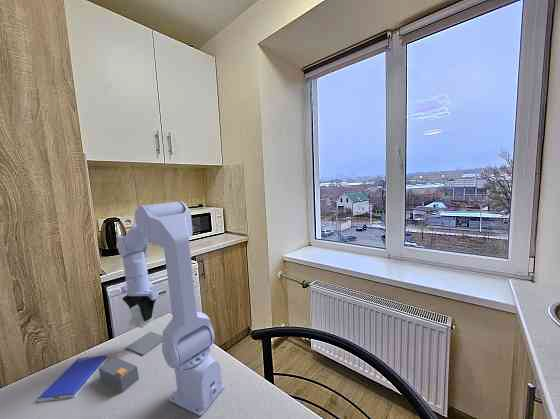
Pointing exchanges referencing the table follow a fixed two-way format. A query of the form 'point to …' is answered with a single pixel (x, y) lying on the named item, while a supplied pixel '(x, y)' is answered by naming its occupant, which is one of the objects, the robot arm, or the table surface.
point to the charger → (138, 317)
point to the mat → (145, 343)
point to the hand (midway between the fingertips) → (143, 317)
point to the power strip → (119, 374)
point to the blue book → (73, 378)
